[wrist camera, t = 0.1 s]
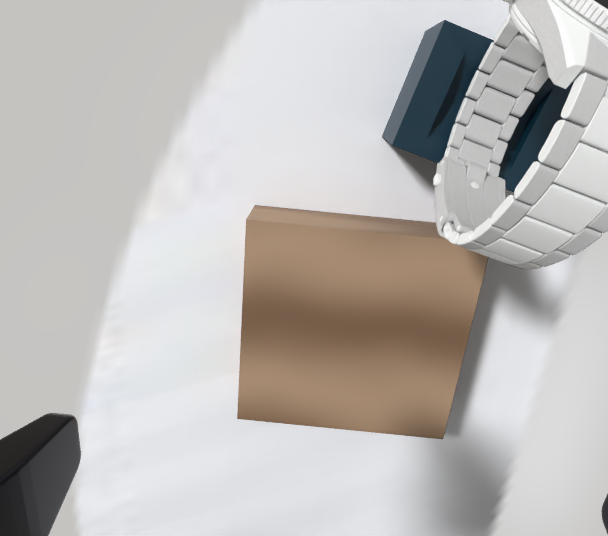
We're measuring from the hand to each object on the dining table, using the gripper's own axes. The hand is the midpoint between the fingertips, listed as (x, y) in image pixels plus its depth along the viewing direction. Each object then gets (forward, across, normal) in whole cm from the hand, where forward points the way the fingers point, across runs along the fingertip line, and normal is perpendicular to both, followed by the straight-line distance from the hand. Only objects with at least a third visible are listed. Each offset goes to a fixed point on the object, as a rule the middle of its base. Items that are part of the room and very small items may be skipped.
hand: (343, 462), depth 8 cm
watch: (+15, -5, -5) cm, 17 cm away
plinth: (+14, -2, +5) cm, 15 cm away
